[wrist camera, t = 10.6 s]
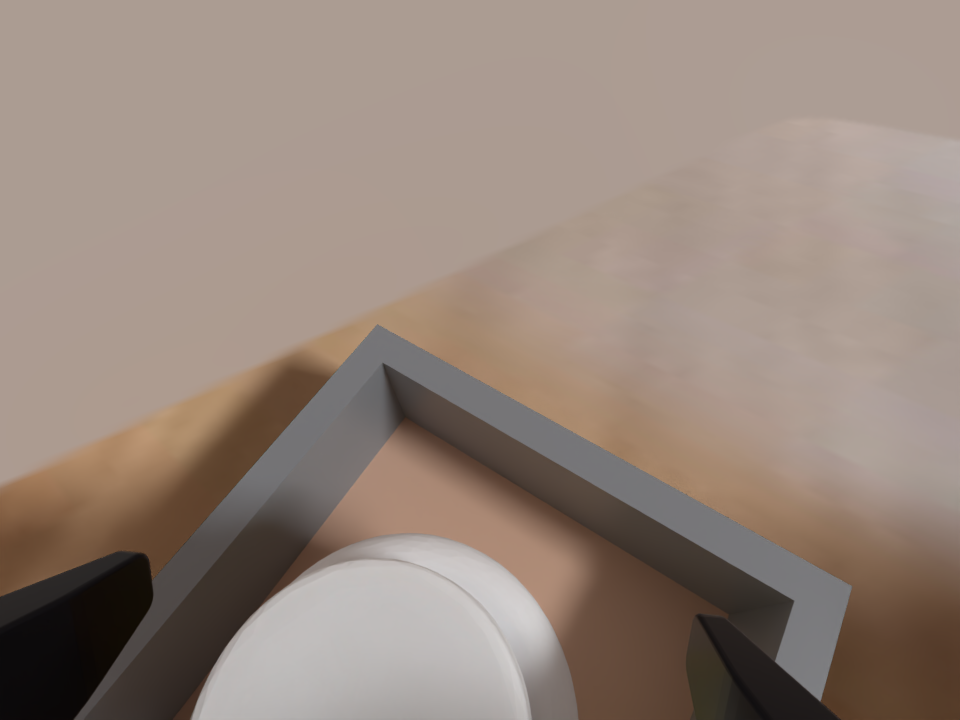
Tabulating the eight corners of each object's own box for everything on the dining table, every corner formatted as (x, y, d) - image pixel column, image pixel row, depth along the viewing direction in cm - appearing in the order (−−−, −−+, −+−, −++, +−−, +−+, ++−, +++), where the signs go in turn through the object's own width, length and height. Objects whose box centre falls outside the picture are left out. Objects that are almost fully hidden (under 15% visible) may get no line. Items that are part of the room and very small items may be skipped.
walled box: (537, 1245, 10) (558, 1653, 6) (110, 768, 15) (-53, 812, 10) (759, 606, 16) (852, 586, 12) (404, 395, 20) (377, 324, 16)
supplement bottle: (317, 655, 15) (51, 646, 6) (479, 549, 16) (446, 419, 8) (405, 880, 13) (164, 1387, 4) (587, 733, 14) (727, 859, 5)
